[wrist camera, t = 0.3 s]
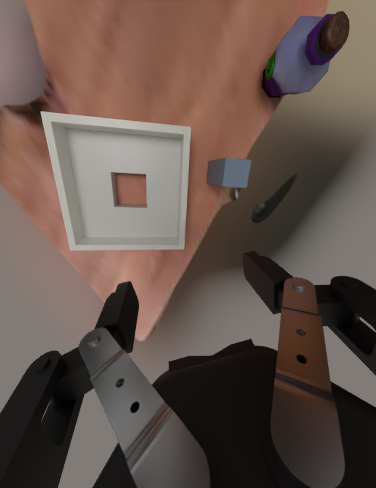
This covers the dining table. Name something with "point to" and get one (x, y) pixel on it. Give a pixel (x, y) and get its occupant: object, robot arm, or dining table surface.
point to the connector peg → (229, 172)
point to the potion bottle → (305, 54)
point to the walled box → (104, 185)
